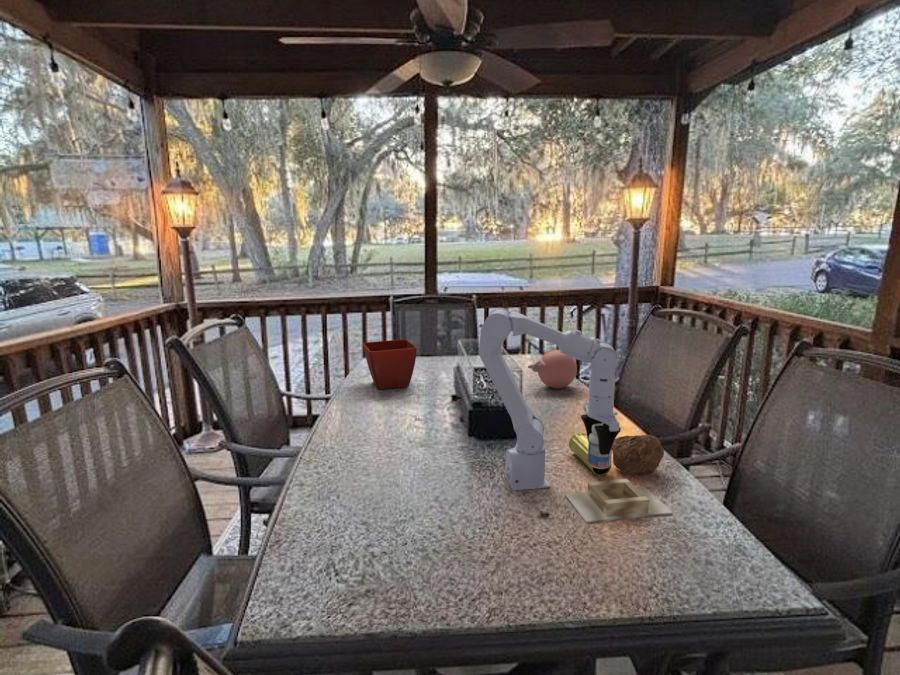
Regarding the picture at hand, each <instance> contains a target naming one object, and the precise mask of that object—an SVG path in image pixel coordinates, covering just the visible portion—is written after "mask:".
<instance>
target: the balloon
mask: <svg viewBox="0 0 900 675" xmlns="http://www.w3.org/2000/svg"><path fill="white" fill-rule="evenodd" d="M527 368H528V369H532V372H534V373H537V375H538V377H539V379H540V381H541V382H542V383H543V384H544V385H545V386H547V387H548V388H551V389H557V390H558V389H564V388H566V387H569V385H570V384H572V383H573V382H574V381H575V378H576V377H577V373H578V367H577V362H576V360H575V358H573V357H571V356H568V355H566V354H563V353H561V352H560V350H559V349H552V350H549V351H547V352H545V353H544V354H543V355H542V356H541V357H540V359H539V360H538V361H536V362H535V363H533V364H529V365H528V366H527Z"/></svg>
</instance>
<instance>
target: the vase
mask: <svg viewBox="0 0 900 675" xmlns="http://www.w3.org/2000/svg"><path fill="white" fill-rule="evenodd" d="M588 443H589V442H588V438H587V433H584V432H577V433H575V434H573V435H572V436H571V438H569V441H568V447H569V450H570V451H571V452H573V453H574V454H575V455H576V457H578V459H580V460H581V461H582V462H583V463H584V464H585V466H587V467H588V469H589V470H590V471H591V472H592V473H593V474H595V475H597V476H598V477H601V476H606V475H607V474H608V473H609V472H610V471H611V469H612V465H611V466H610V467H608V468H605V469H598V468H594V467H592V466H590V465H589V464H588Z"/></svg>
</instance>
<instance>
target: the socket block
mask: <svg viewBox="0 0 900 675" xmlns="http://www.w3.org/2000/svg"><path fill="white" fill-rule="evenodd" d="M564 496H565V497H566V499H567V500H568V502H569V503H570V504H571V506H572V507H573V508H574V509H575V511H576V512H577V513H578V514H579V516H580V517H581V519H582V520H583V521H584V522H585V524H591V523H592V524H594V523H602V522H610V521H612V522H613V521H619V520H621V521H622V520H630V519H638V518H641V519H642V518H649V517H657V516H658V517H659V516H669V515H673V511H671V510H670V509H669V508H668V507H667V506H666V505H665V504H664V503H663V502H661V500H659V499H658V497H656V496H655V495H653V494H652V493H651V492H650V491H649V490H648V489H647V488H646V487H645V486H635V485H634V484H633V483H632V482H631V481H630V480H629V479H628V478H623V479H622V478H620V479H612V480H611V479H610V480H602V481H600V480H599V481H591V482H587V491H582V492H581V491H580V492H572V493H570V492H569V493H564Z"/></svg>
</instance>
